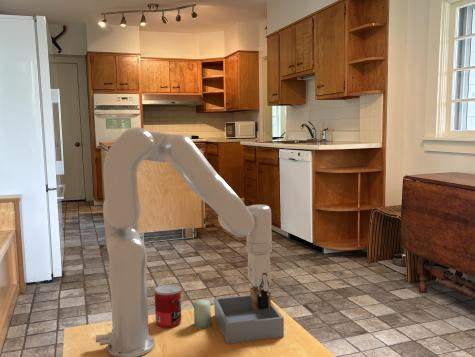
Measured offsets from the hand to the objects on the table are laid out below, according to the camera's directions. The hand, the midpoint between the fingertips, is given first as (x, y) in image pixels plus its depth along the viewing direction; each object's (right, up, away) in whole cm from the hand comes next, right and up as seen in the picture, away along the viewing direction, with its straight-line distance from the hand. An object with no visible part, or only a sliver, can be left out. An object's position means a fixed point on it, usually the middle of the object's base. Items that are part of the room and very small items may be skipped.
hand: (260, 304), depth 132 cm
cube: (0, 0, 0) cm, 0 cm away
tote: (-4, -6, 0) cm, 7 cm away
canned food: (-28, -7, +2) cm, 29 cm away
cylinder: (-18, -7, +1) cm, 19 cm away
